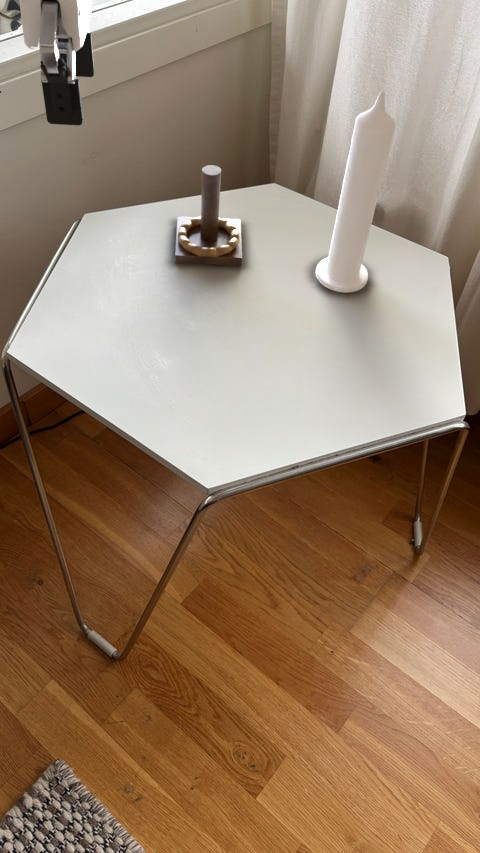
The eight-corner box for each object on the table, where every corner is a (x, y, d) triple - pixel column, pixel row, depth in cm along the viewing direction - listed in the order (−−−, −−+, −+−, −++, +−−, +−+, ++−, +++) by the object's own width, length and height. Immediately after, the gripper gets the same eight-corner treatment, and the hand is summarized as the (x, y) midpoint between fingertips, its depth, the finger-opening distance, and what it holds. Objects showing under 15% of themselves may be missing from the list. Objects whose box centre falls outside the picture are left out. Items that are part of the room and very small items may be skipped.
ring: (176, 257, 94) (176, 250, 93) (178, 220, 99) (178, 213, 99) (239, 259, 95) (240, 252, 94) (238, 223, 100) (238, 215, 99)
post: (175, 262, 95) (174, 188, 87) (177, 223, 101) (177, 150, 92) (241, 265, 96) (248, 191, 87) (240, 226, 102) (246, 153, 93)
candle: (366, 296, 93) (415, 111, 74) (313, 288, 94) (348, 101, 75) (368, 264, 98) (414, 81, 79) (317, 256, 98) (351, 72, 79)
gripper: (18, -151, 61) (46, 57, 74) (-26, -89, 50) (17, 142, 63) (106, -144, 61) (119, 61, 74) (82, -82, 50) (102, 146, 63)
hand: (72, 98), depth 68 cm, fingers open, 9 cm apart
